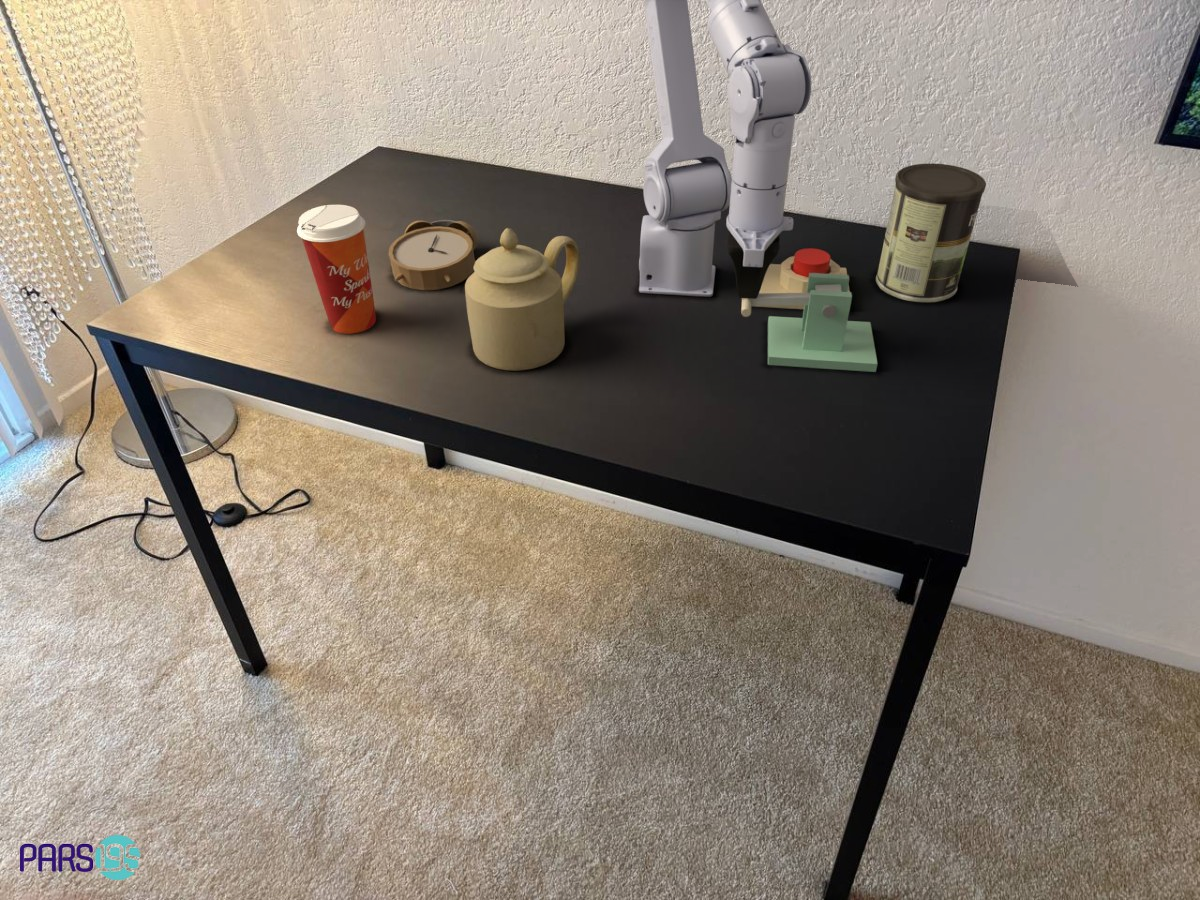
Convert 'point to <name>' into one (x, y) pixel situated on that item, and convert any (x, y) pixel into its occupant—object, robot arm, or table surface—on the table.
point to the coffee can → (929, 231)
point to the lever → (783, 298)
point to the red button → (811, 262)
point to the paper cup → (340, 265)
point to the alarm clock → (433, 254)
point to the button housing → (790, 280)
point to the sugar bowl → (520, 303)
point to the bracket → (823, 332)
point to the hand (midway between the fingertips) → (747, 295)
